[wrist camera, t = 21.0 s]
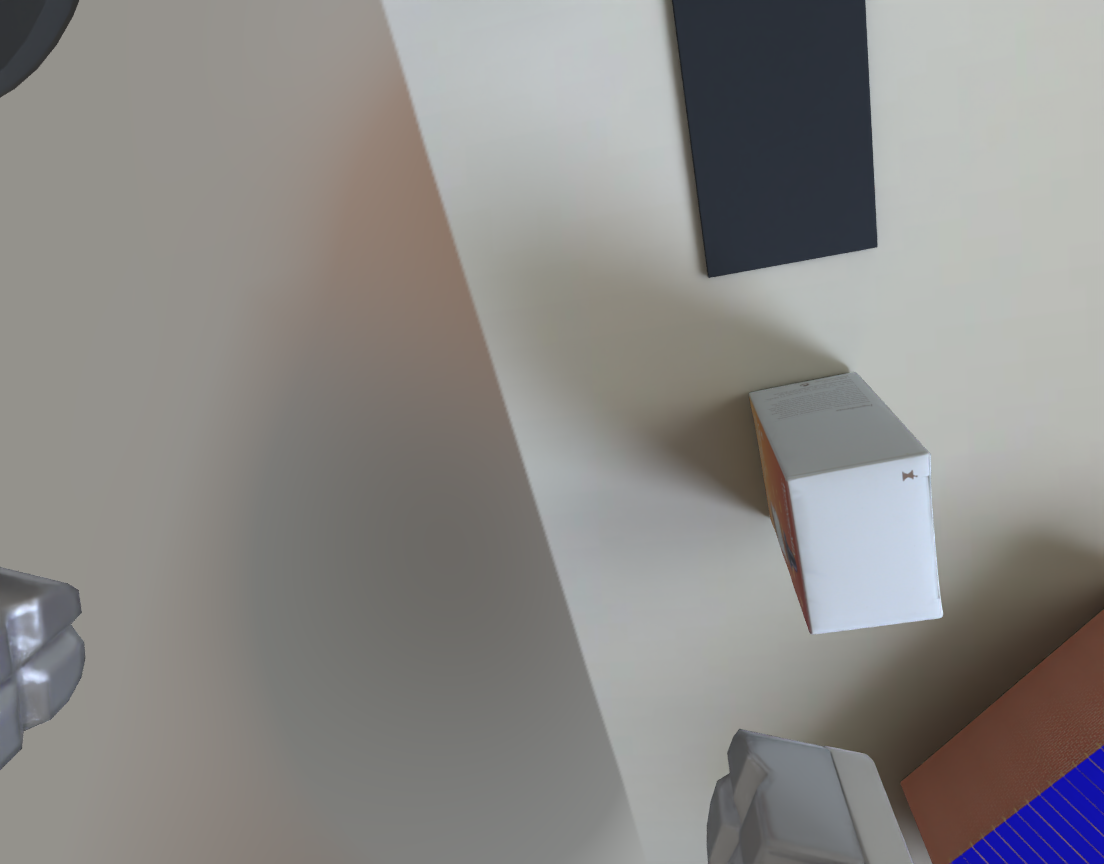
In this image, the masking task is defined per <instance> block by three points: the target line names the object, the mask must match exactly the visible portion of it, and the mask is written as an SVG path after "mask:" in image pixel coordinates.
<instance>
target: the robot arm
mask: <svg viewBox="0 0 1104 864" xmlns="http://www.w3.org/2000/svg"><path fill="white" fill-rule="evenodd" d="M81 613H82V611H81V604H80V597H79V590H78V589H76V588H74V587H73V586H71V585H70V584H68V583H64V582H60V581H56V580H51V579H48V578H44V577H40V576H35V575H31V574H27V573H23V572H19V571H14V570H10V569H6V568H2V567H0V770H1V769H2V768H3V767H4V766H5V765H6V764H7V763H8V762H9V761H10V760H11V759H12V758H13V757H14V756H15V755H16V754H17V753H18V752H19V751H20V750H21V749H22V743H23V733H24V731H25V730H28V729H30V728H32V727H34V726H37V725H39V724H42V723H44V722H46V721H49V720H51V719H52V718H53V717H54V716H55V715H56V714H57V712H59V710H60V709H61V708H62V707H63V706H64V705H65V704H66V703H67V702H68V701H69V699H70V697H71V695H72V694H73V692H74V690H75V688H76V686H77V685H78V683H79V681H80V679H81V676H82V671H83V667H84V662H85V647H84V641H83V640H82V639H81V637H80V636H79V635H78V634H77V632H76V631H75V629H74V628H73V627H72V625H71V624H72V623H73V622H74V621H75V619H76V618H77V617H78V616H79V615H80V614H81ZM727 755H728V762H729V769H730V773H729V774H727V775H726V776H724V777H723V778H721V779H719V780H718V781H717V783H716V786H715V790H714V793H713V796H712V799H711V802H710V809H709V816H708V822H707V855H708V864H913V861H912V859H911V856H910V853H909V851H908V848H907V846H906V843H905V841H904V838H903V835H902V833H901V830H900V828H899V825H898V823H897V820H896V817H895V815H894V812H893V810H892V807H891V805H890V802H889V799H888V797H887V794H886V792H885V789H884V787H883V784H882V781H881V779H880V776H879V774H878V771H877V768H876V766H875V763H874V761H873V760H872V759H871V758H870V757H869V756H868V755H867V754H864V753H859V752H854V751H849V750H844V749H839V748H834V747H829V746H823V747H822V746H819V745H815V744H810V743H805V742H801V741H796V740H791V739H786V738H781V737H777V736H772V735H767V734H762V733H758V732H753V731H748V730H743V729H739V730H738V731H737V733H736V734H735V735H734V737H733V739H732V742H731V744H730V747H729V750H728V752H727Z"/></svg>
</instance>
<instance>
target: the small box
mask: <svg viewBox="0 0 1104 864" xmlns="http://www.w3.org/2000/svg"><path fill="white" fill-rule="evenodd" d="M749 400H750V405H751V410H752V414H753V419H754V424H755V429H756V435H757V440H758V446H759V452H760V459H761V465H762V471H763V478H764V484H765V490H766V496H767V502H768V508H769V514H770V519H771V521H772V524H773V527H774V529H775V532H776V535H777V538H778V541H779V544H780V547H781V550H782V553H783V556H784V559H785V562H786V564H787V567H788V570H789V572H790V576H791V579H792V582H793V585H794V588H795V591H796V594H797V597H798V600H799V603H800V606H801V609H802V612H803V615H804V618H805V621H806V624H807V626H808V629H809V632H810V634H820V633H830V632H838V631H846V630H853V629H861V628H869V627H876V626H884V625H891V624H899V623H906V622H914V621H921V620H929V619H938V618H941V617H942V616H943V609H942V603H941V597H940V589H939V580H938V569H937V558H936V547H935V535H934V523H933V510H932V493H931V454H930V452H929V451H928V450H927V449H926V448H925V447H924V446H923V445H922V444H921V443H920V441H919V440H918V439H917V438H916V437H915V436H914V435H913V434H912V433H911V432H910V431H909V430H908V429H907V427H906V426H905V425H904V424H903V423H902V422H901V421H900V420H899V418H898V417H897V416H896V415H895V414H894V413H893V412H892V411H891V409H890V408H889V407H888V406H887V405H886V404H885V403H884V402H883V401H882V400H881V399H880V397H879V396H878V395H877V394H876V393H875V392H874V391H873V390H872V389H871V387H870V386H869V385H868V384H867V383H866V382H865V381H864V380H863V379H862V378H861V377H860V376H859V375H858V374H857V373H856V372H851V373H847V374H842V375H837V376H831V377H826V378H821V379H816V380H811V381H806V382H801V383H795V384H790V385H785V386H780V387H775V388H770V389H765V390H760V391H755V392H750V393H749Z"/></svg>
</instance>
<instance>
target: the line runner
mask: <svg viewBox="0 0 1104 864" xmlns="http://www.w3.org/2000/svg"><path fill="white" fill-rule="evenodd" d="M672 3H673V11H674V18H675V26H676V34H677V41H678V49H679V57H680V64H681V72H682V80H683V87H684V95H685V103H686V111H687V118H688V126H689V134H690V141H691V149H692V157H693V164H694V172H695V180H696V187H697V195H698V203H699V211H700V218H701V226H702V234H703V241H704V249H705V257H706V264H707V272H708V277H709V278H711V277H716V276H722V275H727V274H733V273H738V272H744V271H749V270H755V269H760V268H766V267H771V266H776V265H782V264H787V263H793V262H798V261H804V260H809V259H815V258H820V257H826V256H831V255H837V254H842V253H848V252H853V251H859V250H864V249H870V248H875V247H877V228H876V208H875V188H874V168H873V148H872V128H871V108H870V88H869V68H868V48H867V28H866V8H865V0H672Z"/></svg>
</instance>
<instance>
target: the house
mask: <svg viewBox="0 0 1104 864" xmlns="http://www.w3.org/2000/svg"><path fill="white" fill-rule="evenodd" d="M900 784H901V786H902V789H903V791H904V794H905V796H906V799H907V801H908V804H909V806H910V808H911V811H912V813H913V816H914V818H915V821H916V823H917V826H918V828H919V831H920V833H921V836H922V838H923V841H924V843H925V846H926V848H927V851H928V853H929V856H930V858H931V861H932V863H933V864H1104V609H1103V610H1102V611H1101V612H1100V613H1098V614H1097V615H1096V616H1095V617H1094V618H1093V619H1091V620H1090V621H1089V622H1088V623H1087V624H1085V625H1084V626H1083V627H1082V628H1081V629H1080V630H1078V631H1077V632H1076V633H1075V634H1074V635H1073V636H1071V637H1070V638H1069V639H1068V640H1067V641H1066V642H1064V643H1063V644H1062V645H1061V646H1060V647H1059V648H1057V649H1056V650H1055V651H1054V652H1053V653H1051V654H1050V655H1049V656H1048V657H1047V658H1046V659H1044V660H1043V661H1042V662H1041V663H1040V664H1039V665H1037V666H1036V667H1035V668H1034V669H1033V670H1032V671H1030V672H1029V673H1028V674H1027V675H1026V676H1024V677H1023V678H1022V679H1021V680H1020V681H1019V682H1017V683H1016V684H1015V685H1014V686H1013V687H1012V688H1010V689H1009V690H1008V691H1007V692H1006V693H1005V694H1003V695H1002V696H1001V697H1000V698H999V699H997V700H996V701H995V702H994V703H993V704H992V705H990V706H989V707H988V708H987V709H986V710H985V711H983V712H982V713H981V714H980V715H979V716H978V717H976V718H975V719H974V720H973V721H972V722H971V723H969V724H968V725H967V726H966V727H965V728H963V729H962V730H961V731H960V732H959V733H958V734H956V735H955V736H954V737H953V738H952V739H951V740H949V741H948V742H947V743H946V744H945V745H944V746H942V747H941V748H940V749H939V750H938V751H936V752H935V753H934V754H933V755H932V756H931V757H929V758H928V759H927V760H926V761H925V762H924V763H922V764H921V765H920V766H919V767H918V768H917V769H915V770H914V771H913V772H912V773H911V774H909V775H908V776H907V777H906V778H905V779H904V780H902V781H901V782H900Z"/></svg>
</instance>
